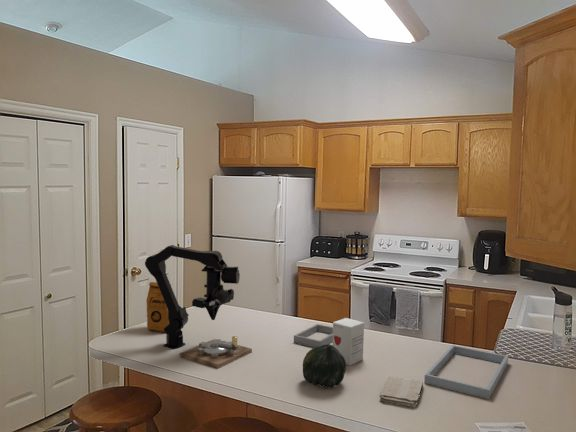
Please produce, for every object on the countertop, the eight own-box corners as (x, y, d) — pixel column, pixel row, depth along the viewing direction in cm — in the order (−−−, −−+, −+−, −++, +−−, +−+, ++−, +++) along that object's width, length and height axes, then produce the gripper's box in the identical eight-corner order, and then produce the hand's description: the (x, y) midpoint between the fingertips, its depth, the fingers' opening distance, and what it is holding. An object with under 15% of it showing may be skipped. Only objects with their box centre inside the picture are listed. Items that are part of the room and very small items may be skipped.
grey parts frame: (293, 342, 204) (293, 335, 204) (317, 330, 221) (317, 323, 221) (320, 348, 197) (320, 341, 197) (342, 335, 214) (342, 329, 213)
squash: (302, 356, 174) (304, 335, 163) (343, 359, 173) (348, 338, 162) (301, 394, 164) (302, 375, 153) (344, 397, 164) (349, 378, 153)
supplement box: (331, 359, 186) (331, 321, 184) (344, 353, 192) (345, 317, 191) (350, 366, 179) (351, 327, 178) (363, 359, 186) (364, 322, 185)
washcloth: (378, 403, 151) (378, 394, 151) (388, 381, 167) (388, 372, 167) (417, 410, 146) (417, 400, 146) (423, 387, 163) (423, 378, 163)
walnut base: (179, 356, 186) (179, 352, 186) (214, 342, 203) (214, 338, 203) (218, 368, 175) (218, 364, 175) (251, 352, 192) (251, 348, 192)
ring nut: (226, 360, 179) (226, 343, 178) (189, 353, 186) (189, 336, 185) (246, 348, 191) (246, 332, 191) (210, 342, 199) (210, 326, 198)
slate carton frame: (424, 383, 165) (424, 374, 165) (452, 352, 195) (452, 344, 195) (489, 399, 154) (489, 390, 153) (507, 363, 184) (508, 356, 183)
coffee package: (166, 334, 212) (166, 286, 210) (143, 331, 216) (143, 283, 215) (179, 328, 221) (179, 281, 220) (157, 325, 226) (156, 279, 224)
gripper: (211, 289, 182) (211, 329, 183) (243, 281, 197) (242, 318, 199) (191, 285, 188) (191, 323, 190) (223, 277, 204) (223, 313, 205)
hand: (213, 319), depth 196 cm, fingers closed
